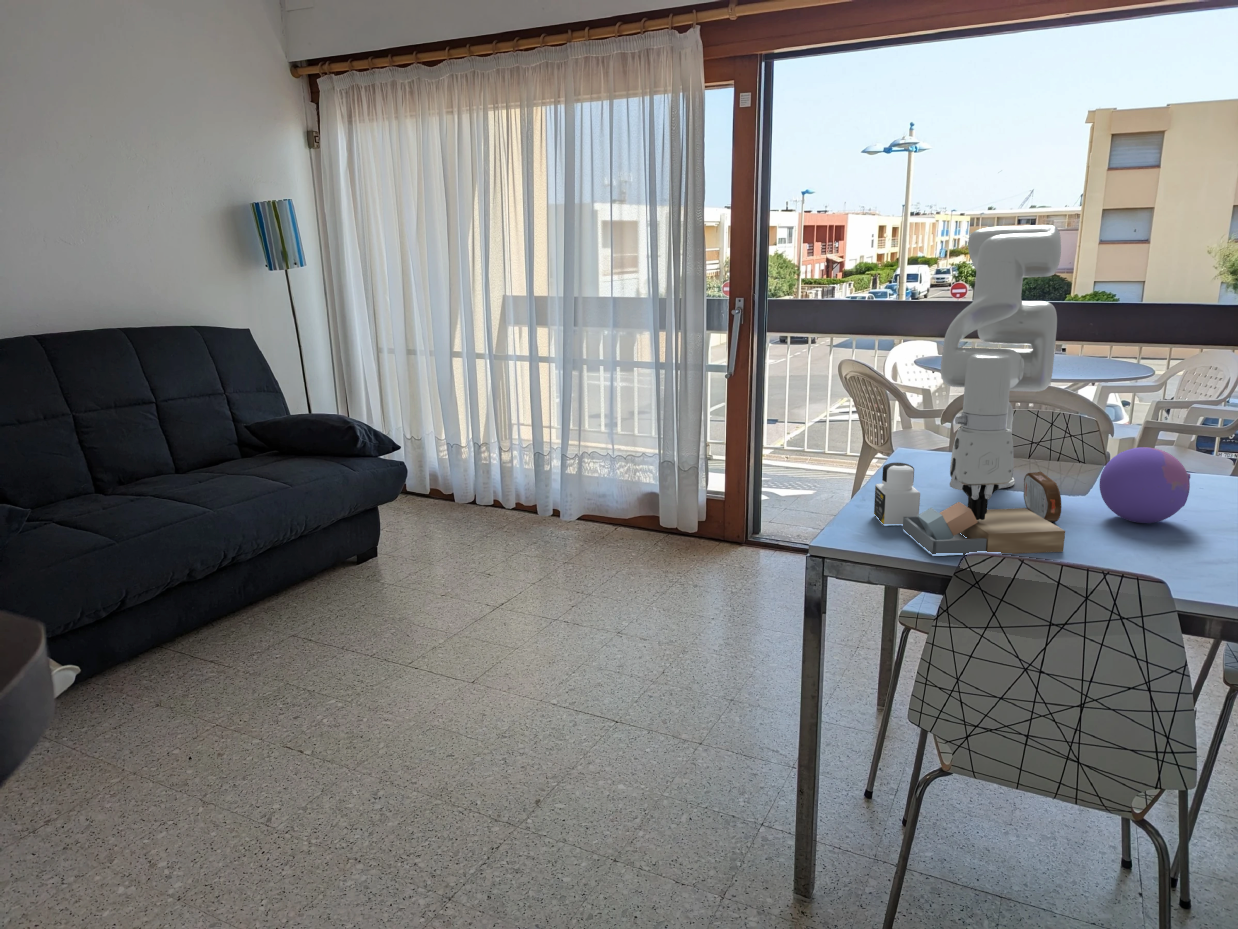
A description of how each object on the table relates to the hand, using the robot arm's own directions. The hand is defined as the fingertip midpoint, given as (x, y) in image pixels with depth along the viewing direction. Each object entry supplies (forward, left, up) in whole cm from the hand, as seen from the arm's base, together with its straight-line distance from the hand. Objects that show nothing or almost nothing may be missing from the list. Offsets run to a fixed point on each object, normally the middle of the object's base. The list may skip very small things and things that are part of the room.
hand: (976, 517), depth 153 cm
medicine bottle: (-14, -10, -5) cm, 18 cm away
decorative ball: (-8, +37, -5) cm, 38 cm away
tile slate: (0, -6, -1) cm, 6 cm away
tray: (0, -6, -5) cm, 8 cm away
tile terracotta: (0, -3, -1) cm, 3 cm away
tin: (-14, +20, -5) cm, 25 cm away
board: (0, +6, -5) cm, 8 cm away
